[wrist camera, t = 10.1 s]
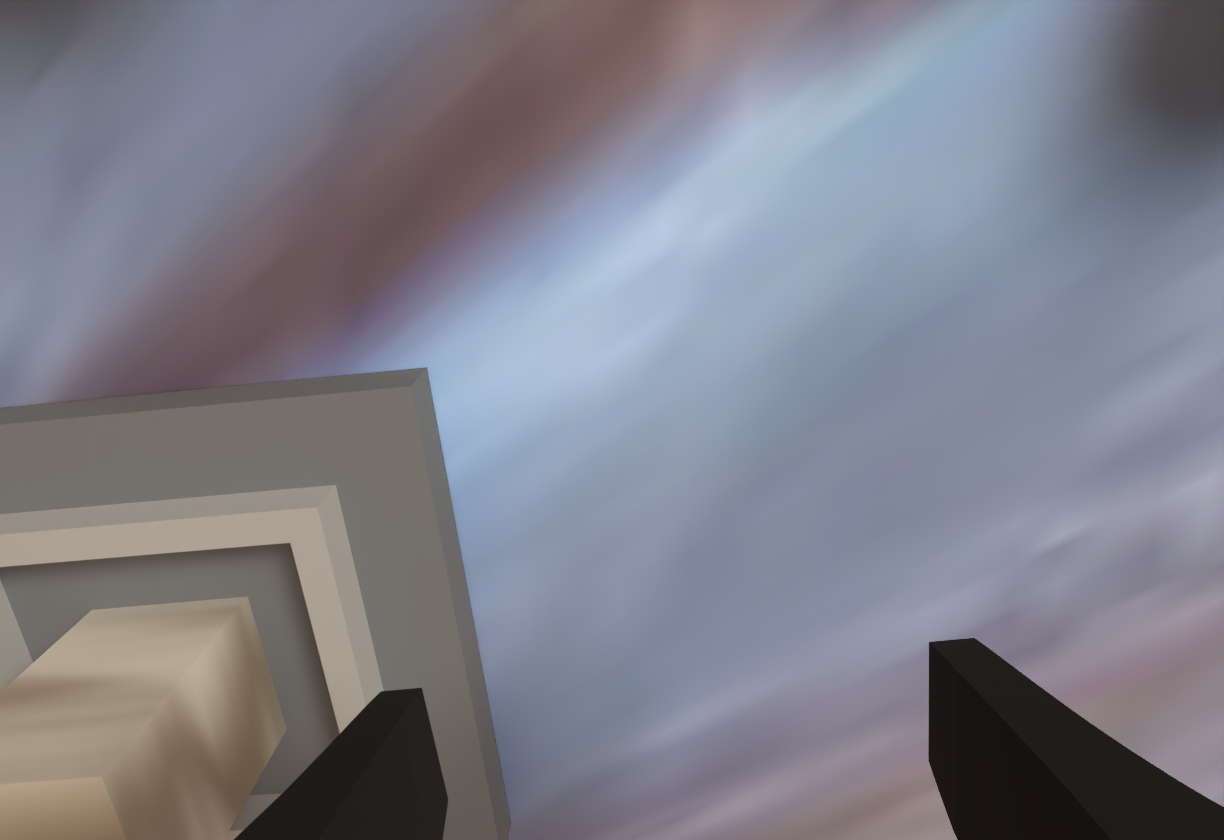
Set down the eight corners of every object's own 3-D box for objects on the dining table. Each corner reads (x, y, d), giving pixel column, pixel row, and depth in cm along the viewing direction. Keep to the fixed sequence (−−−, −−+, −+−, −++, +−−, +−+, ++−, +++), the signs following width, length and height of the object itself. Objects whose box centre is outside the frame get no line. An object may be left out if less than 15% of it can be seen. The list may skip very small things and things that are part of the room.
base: (510, 822, 25) (496, 903, 22) (55, 852, 25) (-8, 932, 23) (426, 367, 20) (397, 403, 17) (-127, 420, 21) (-233, 461, 18)
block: (286, 729, 22) (166, 941, 16) (139, 740, 22) (-31, 954, 16) (247, 596, 20) (101, 776, 15) (91, 609, 21) (-111, 793, 15)
